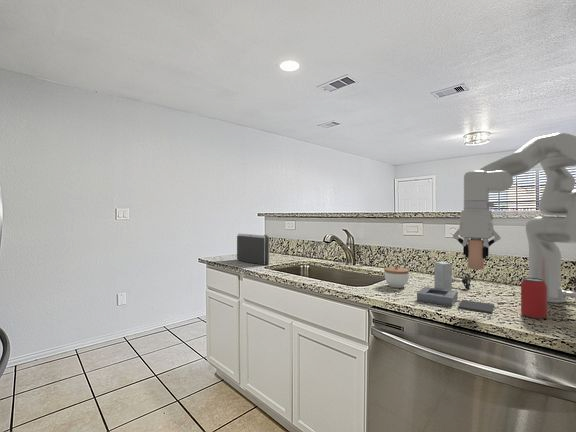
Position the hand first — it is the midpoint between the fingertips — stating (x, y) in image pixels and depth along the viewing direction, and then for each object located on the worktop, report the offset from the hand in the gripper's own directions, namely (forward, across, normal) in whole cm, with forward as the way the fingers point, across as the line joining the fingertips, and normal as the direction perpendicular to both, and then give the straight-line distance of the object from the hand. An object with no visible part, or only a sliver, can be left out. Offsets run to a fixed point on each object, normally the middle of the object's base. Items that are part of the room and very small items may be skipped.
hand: (475, 257), depth 109 cm
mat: (+18, 0, 0) cm, 18 cm away
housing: (+18, +13, -2) cm, 22 cm away
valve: (+18, +11, -28) cm, 35 cm away
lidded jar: (+18, +32, -15) cm, 40 cm away
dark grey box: (+18, +133, -34) cm, 138 cm away
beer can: (+18, -16, 0) cm, 24 cm away
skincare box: (+18, +14, -18) cm, 29 cm away
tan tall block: (+4, 0, 0) cm, 4 cm away
